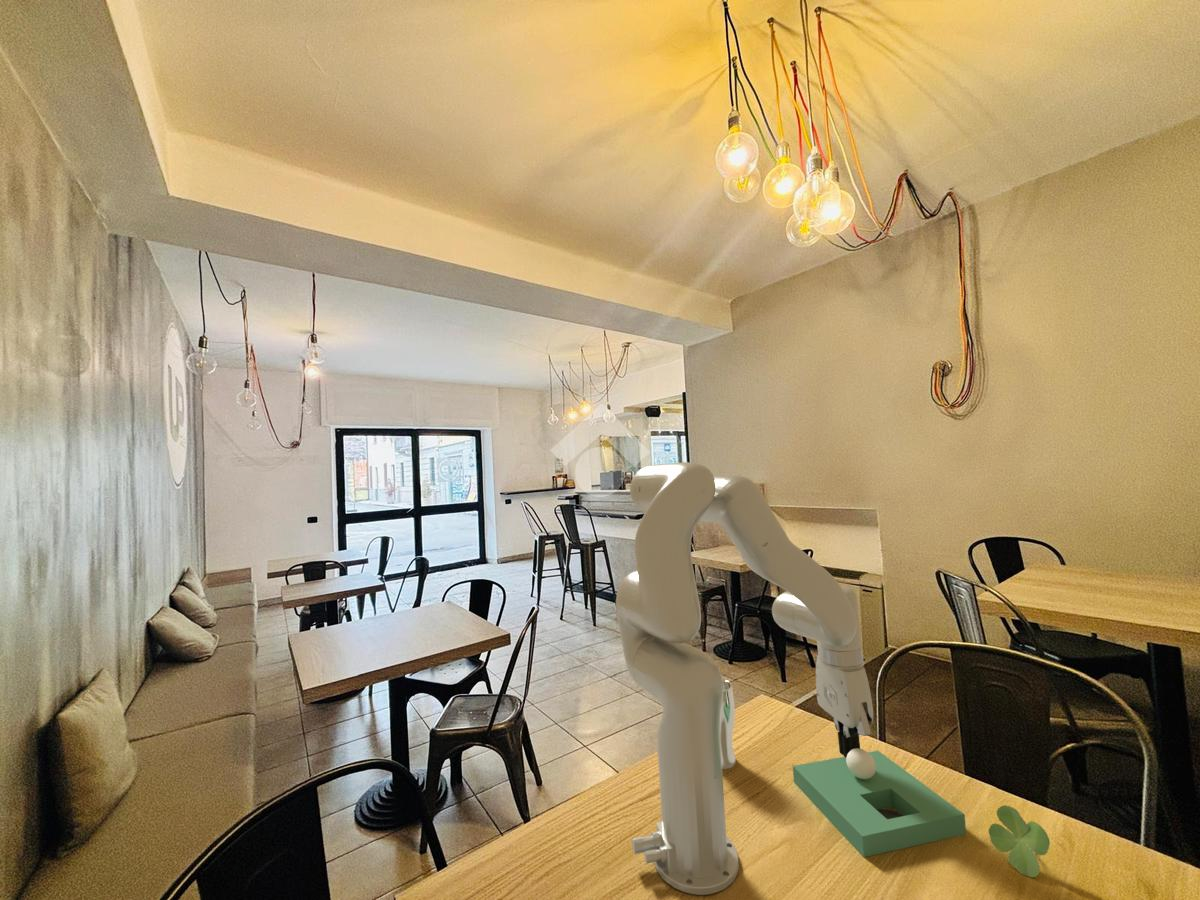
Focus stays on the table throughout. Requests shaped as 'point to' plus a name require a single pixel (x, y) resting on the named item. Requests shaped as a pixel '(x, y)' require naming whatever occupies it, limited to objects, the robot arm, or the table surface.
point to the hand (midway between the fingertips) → (850, 754)
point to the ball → (861, 763)
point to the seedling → (1019, 840)
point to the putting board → (878, 805)
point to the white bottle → (727, 726)
